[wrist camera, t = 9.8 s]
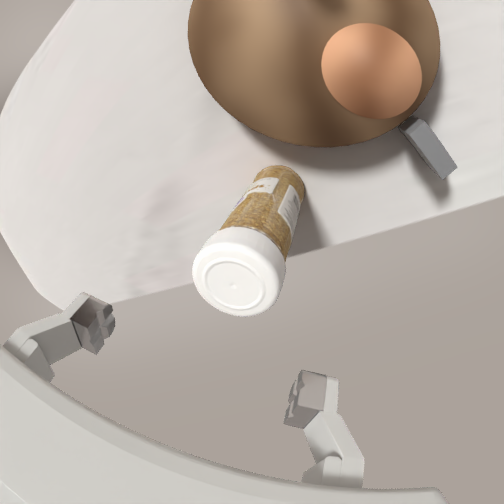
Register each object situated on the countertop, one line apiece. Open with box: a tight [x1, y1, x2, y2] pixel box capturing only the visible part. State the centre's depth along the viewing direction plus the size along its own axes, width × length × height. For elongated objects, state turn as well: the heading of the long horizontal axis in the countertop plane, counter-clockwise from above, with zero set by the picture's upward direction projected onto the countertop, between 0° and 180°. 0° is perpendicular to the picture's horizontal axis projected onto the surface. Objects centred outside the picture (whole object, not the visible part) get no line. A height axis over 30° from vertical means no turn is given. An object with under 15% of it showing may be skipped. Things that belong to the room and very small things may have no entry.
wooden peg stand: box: [188, 0, 440, 147], centre depth 13 cm, size 18×18×8 cm
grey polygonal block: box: [398, 116, 457, 180], centre depth 18 cm, size 4×2×4 cm, turn 49°
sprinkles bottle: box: [192, 166, 304, 317], centre depth 20 cm, size 5×5×14 cm
